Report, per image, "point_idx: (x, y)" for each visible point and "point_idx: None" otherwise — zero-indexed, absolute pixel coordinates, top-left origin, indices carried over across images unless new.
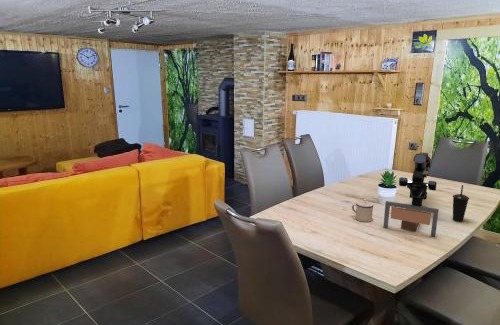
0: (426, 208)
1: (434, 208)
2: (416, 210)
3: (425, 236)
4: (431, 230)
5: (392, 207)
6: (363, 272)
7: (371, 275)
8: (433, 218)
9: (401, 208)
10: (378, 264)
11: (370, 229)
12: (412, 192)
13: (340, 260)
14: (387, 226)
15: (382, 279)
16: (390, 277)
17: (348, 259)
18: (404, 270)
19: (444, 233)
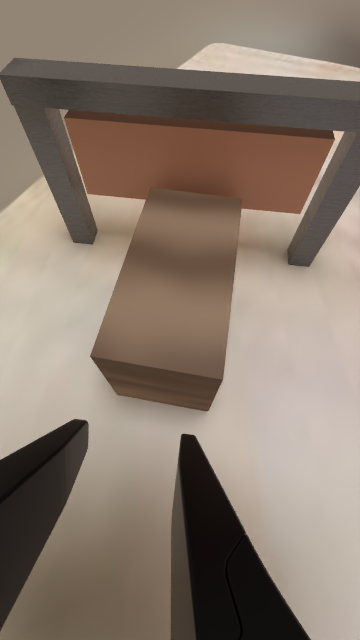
0: (91, 65)
1: (27, 76)
2: (142, 299)
3: (119, 227)
4: (88, 204)
5: (325, 130)
6: (277, 53)
7: (260, 50)
8: (63, 134)
9: (262, 131)
10: (256, 74)
11: (351, 220)
12: (187, 476)
13: (339, 68)
14: (291, 241)
15: (237, 47)
16: (224, 52)
17: (325, 73)
18: (198, 70)
19: (16, 282)
